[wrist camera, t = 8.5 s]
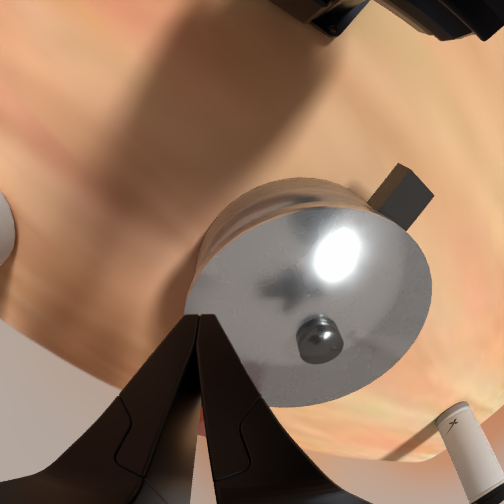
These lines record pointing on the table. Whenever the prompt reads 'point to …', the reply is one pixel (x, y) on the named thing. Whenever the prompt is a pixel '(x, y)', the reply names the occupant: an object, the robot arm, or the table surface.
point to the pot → (312, 190)
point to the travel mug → (471, 455)
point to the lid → (315, 299)
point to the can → (6, 230)
